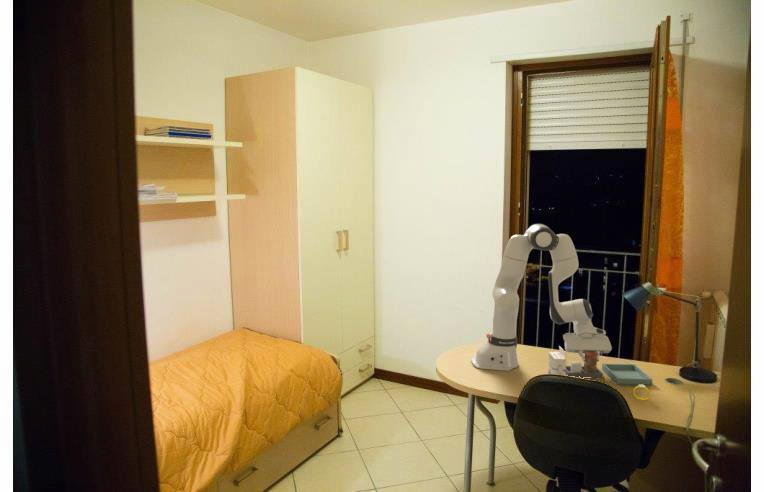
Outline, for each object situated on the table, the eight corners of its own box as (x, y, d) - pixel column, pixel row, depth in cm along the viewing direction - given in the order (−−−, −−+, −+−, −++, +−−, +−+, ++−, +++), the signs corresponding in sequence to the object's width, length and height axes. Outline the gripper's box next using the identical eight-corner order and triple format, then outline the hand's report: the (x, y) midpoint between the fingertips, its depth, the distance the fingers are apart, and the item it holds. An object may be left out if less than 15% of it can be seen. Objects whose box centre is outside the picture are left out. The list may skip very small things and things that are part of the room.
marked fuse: (586, 373, 214) (588, 354, 213) (583, 369, 218) (584, 351, 217) (595, 373, 214) (597, 354, 213) (592, 370, 218) (593, 351, 217)
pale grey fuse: (571, 376, 215) (572, 364, 214) (570, 373, 219) (570, 360, 218) (581, 377, 214) (581, 364, 213) (579, 373, 218) (580, 361, 217)
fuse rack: (568, 378, 213) (568, 373, 213) (562, 370, 221) (562, 365, 221) (602, 378, 212) (602, 373, 212) (595, 371, 220) (596, 366, 220)
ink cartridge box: (547, 375, 216) (548, 345, 214) (558, 375, 216) (559, 345, 214) (553, 384, 208) (555, 352, 205) (565, 384, 207) (566, 352, 205)
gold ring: (632, 399, 193) (632, 385, 193) (633, 396, 196) (633, 383, 195) (649, 402, 190) (649, 388, 190) (650, 399, 192) (650, 385, 192)
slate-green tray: (617, 385, 206) (617, 378, 205) (602, 369, 222) (602, 363, 222) (651, 385, 205) (652, 379, 204) (634, 370, 221) (634, 364, 221)
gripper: (563, 329, 221) (569, 357, 213) (608, 330, 220) (616, 358, 212) (560, 335, 226) (565, 363, 218) (604, 336, 225) (611, 364, 217)
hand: (591, 361), depth 215 cm, fingers closed on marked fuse, 4 cm apart
